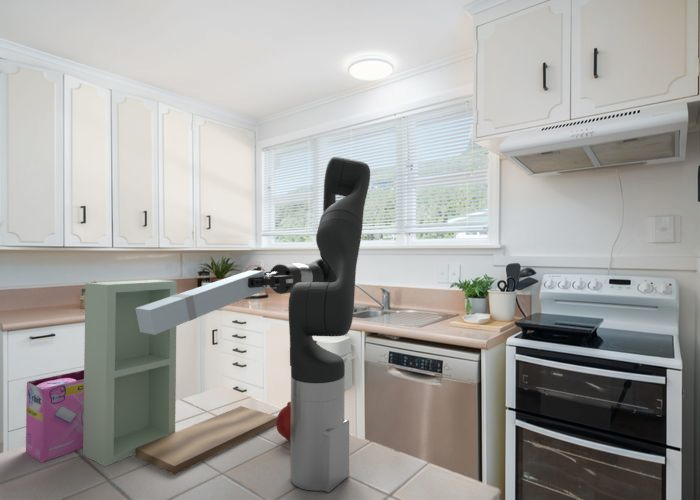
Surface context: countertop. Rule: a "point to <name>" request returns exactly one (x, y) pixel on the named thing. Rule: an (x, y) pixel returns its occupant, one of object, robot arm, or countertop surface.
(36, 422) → the gum box
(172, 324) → the light blue box
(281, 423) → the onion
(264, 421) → the board
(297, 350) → the robot arm
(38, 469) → the countertop surface
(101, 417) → the shelf
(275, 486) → the countertop surface
